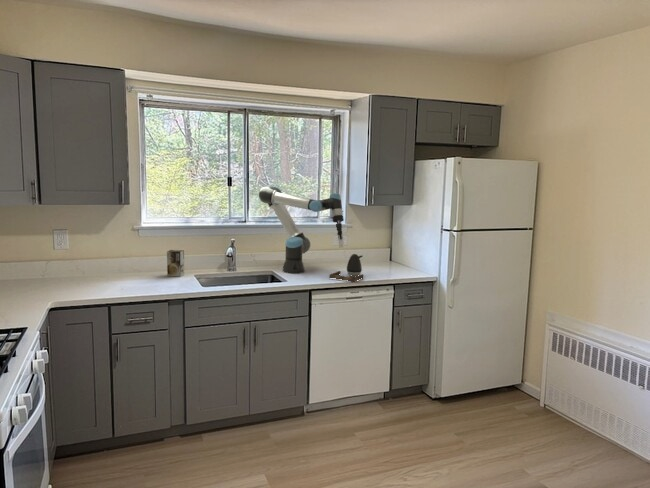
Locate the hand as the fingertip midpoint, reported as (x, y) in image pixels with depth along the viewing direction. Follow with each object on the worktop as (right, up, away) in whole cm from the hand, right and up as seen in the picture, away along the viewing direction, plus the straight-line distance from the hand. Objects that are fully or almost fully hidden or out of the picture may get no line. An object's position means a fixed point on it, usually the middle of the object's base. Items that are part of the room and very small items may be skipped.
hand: (341, 245), depth 330 cm
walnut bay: (+3, -22, -13) cm, 25 cm away
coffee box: (-107, -19, -21) cm, 111 cm away
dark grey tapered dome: (+8, -21, -2) cm, 22 cm away
